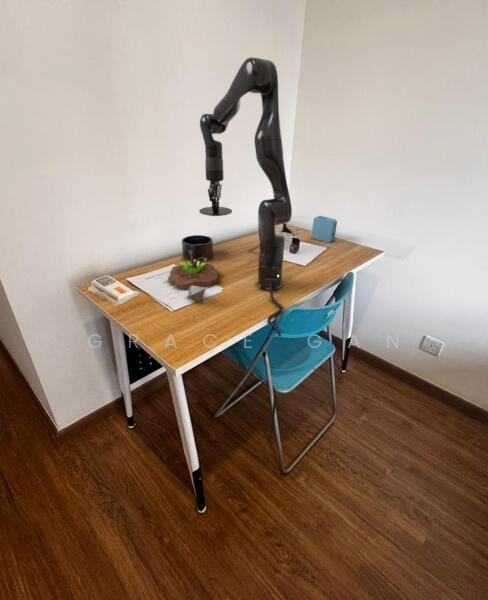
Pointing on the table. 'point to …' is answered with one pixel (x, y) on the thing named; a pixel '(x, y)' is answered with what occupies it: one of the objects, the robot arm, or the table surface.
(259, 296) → the table surface
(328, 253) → the table surface
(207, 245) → the pot
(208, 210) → the lid
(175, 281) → the plant
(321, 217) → the data package
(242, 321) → the table surface
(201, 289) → the paper boat
